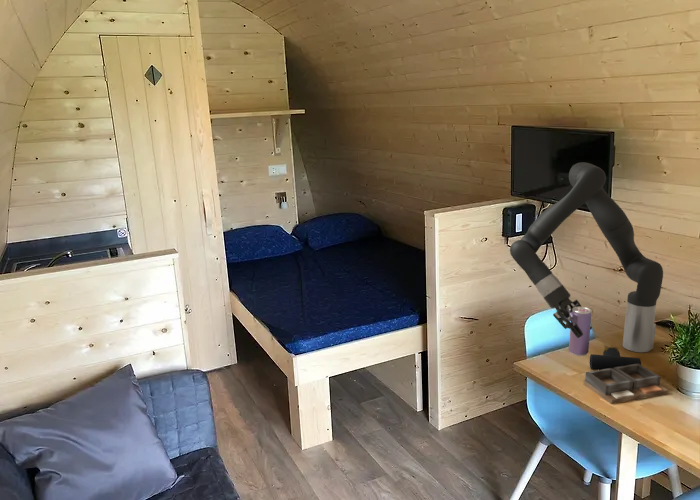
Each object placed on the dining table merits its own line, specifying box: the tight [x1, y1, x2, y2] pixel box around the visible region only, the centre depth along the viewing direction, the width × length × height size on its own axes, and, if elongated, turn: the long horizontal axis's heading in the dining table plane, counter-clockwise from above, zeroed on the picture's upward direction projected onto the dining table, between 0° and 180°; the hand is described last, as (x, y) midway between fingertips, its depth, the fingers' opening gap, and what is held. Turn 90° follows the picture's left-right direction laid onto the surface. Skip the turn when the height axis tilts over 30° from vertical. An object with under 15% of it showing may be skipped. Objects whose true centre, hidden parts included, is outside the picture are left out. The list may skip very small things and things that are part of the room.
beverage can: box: [568, 306, 592, 357], centre depth 189 cm, size 6×6×15 cm
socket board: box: [583, 364, 669, 405], centre depth 182 cm, size 20×13×4 cm, turn 105°
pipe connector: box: [589, 345, 642, 371], centre depth 198 cm, size 12×5×15 cm
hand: (585, 333), depth 188 cm, fingers closed on beverage can, 6 cm apart
